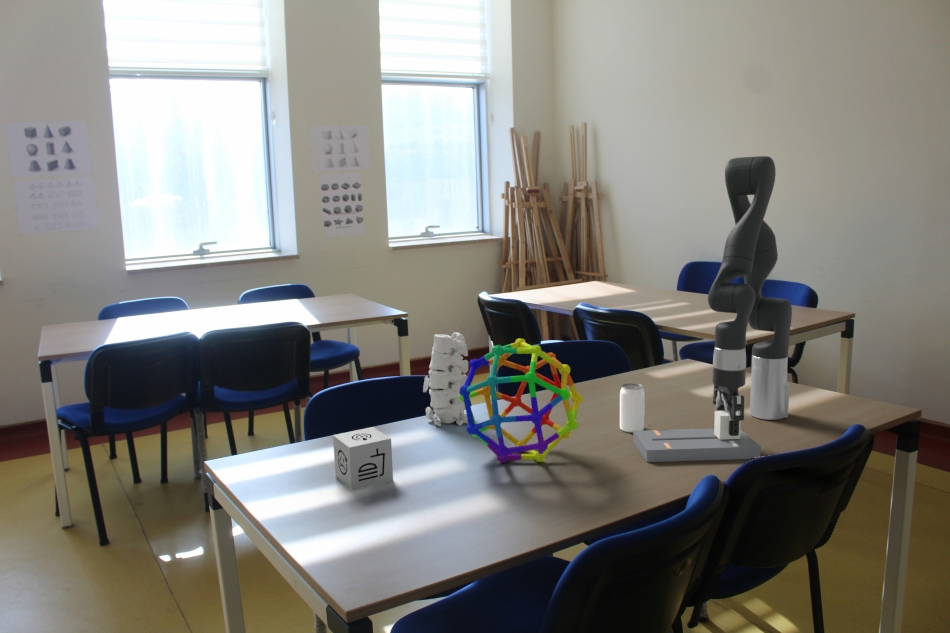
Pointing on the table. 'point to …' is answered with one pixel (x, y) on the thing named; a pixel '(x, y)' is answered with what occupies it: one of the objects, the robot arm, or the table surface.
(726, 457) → the slide board
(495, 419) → the geometric model
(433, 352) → the anatomical model
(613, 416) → the table surface
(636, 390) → the can
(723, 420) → the fader cap
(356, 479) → the icon cube
